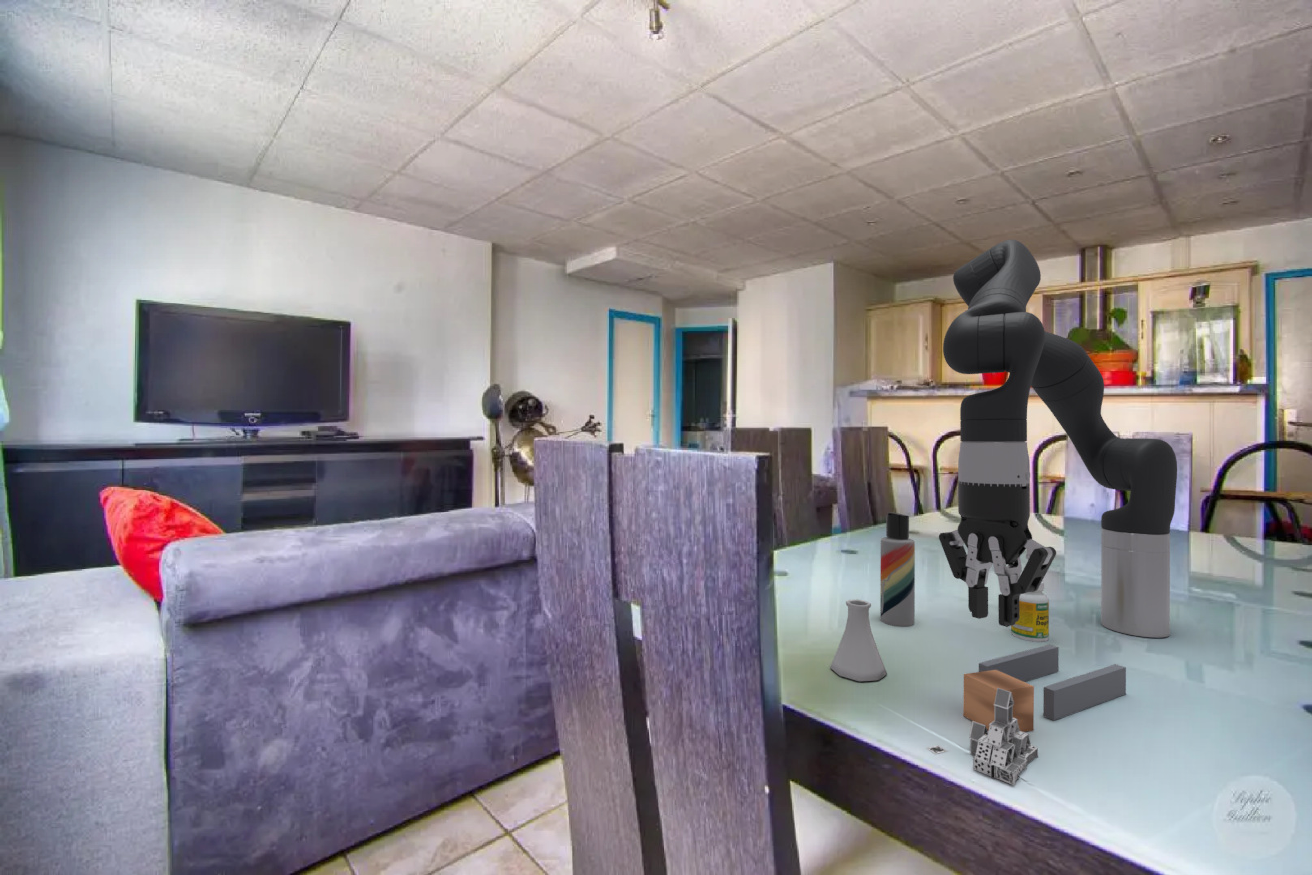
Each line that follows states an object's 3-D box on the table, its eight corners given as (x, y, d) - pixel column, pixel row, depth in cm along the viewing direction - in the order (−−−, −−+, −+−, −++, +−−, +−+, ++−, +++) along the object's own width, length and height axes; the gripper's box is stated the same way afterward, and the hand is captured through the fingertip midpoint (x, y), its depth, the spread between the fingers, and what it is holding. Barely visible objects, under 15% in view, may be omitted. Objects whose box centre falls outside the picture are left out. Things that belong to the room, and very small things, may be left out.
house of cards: (959, 723, 68) (960, 658, 68) (1045, 755, 62) (1045, 682, 62) (923, 749, 62) (923, 678, 63) (1013, 787, 56) (1013, 707, 56)
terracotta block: (995, 710, 71) (996, 669, 71) (1033, 730, 66) (1033, 686, 66) (963, 715, 69) (963, 673, 69) (999, 736, 65) (999, 691, 65)
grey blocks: (1049, 668, 84) (1049, 644, 84) (1125, 694, 75) (1125, 667, 75) (978, 689, 77) (978, 663, 77) (1054, 720, 68) (1054, 690, 68)
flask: (859, 687, 77) (859, 612, 77) (820, 668, 84) (820, 599, 84) (896, 677, 81) (897, 605, 81) (856, 659, 87) (856, 593, 87)
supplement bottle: (1020, 630, 101) (1020, 575, 101) (1054, 639, 96) (1055, 581, 96) (1004, 635, 98) (1004, 579, 98) (1039, 645, 93) (1039, 585, 93)
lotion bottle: (874, 618, 107) (875, 510, 107) (904, 618, 107) (904, 510, 107) (889, 628, 101) (890, 514, 101) (920, 628, 102) (921, 514, 102)
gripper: (922, 476, 75) (922, 610, 75) (1034, 484, 62) (1034, 644, 62) (960, 475, 78) (960, 602, 78) (1073, 481, 66) (1074, 633, 66)
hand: (993, 620), depth 70 cm, fingers open, 3 cm apart
